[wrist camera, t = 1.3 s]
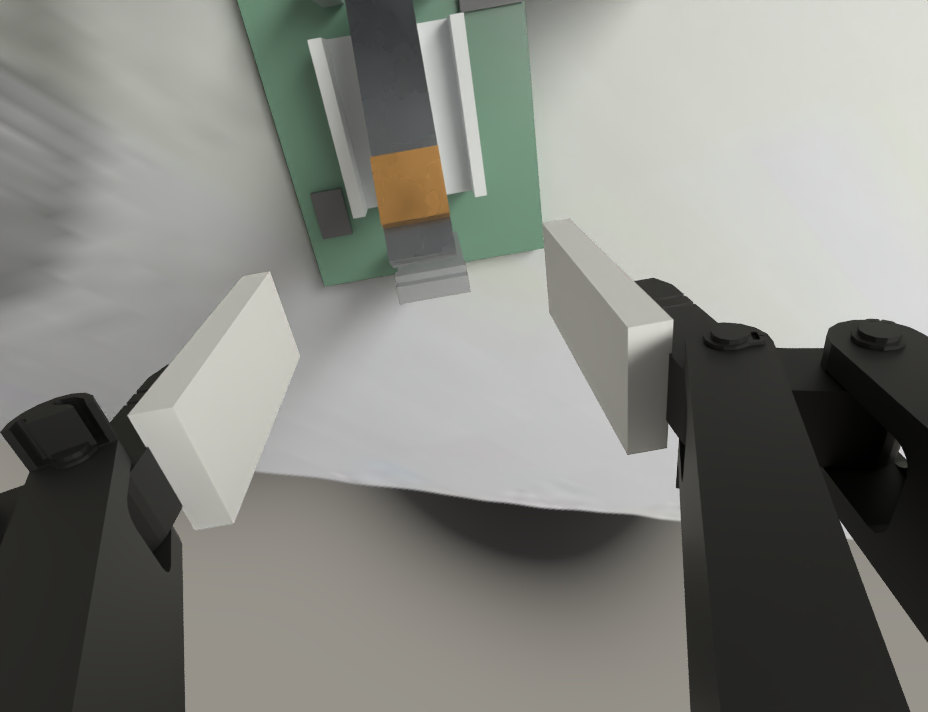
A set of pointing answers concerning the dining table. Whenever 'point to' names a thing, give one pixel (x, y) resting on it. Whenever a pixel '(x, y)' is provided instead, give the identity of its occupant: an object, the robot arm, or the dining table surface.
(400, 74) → the strap
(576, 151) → the dining table surface
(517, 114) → the board
